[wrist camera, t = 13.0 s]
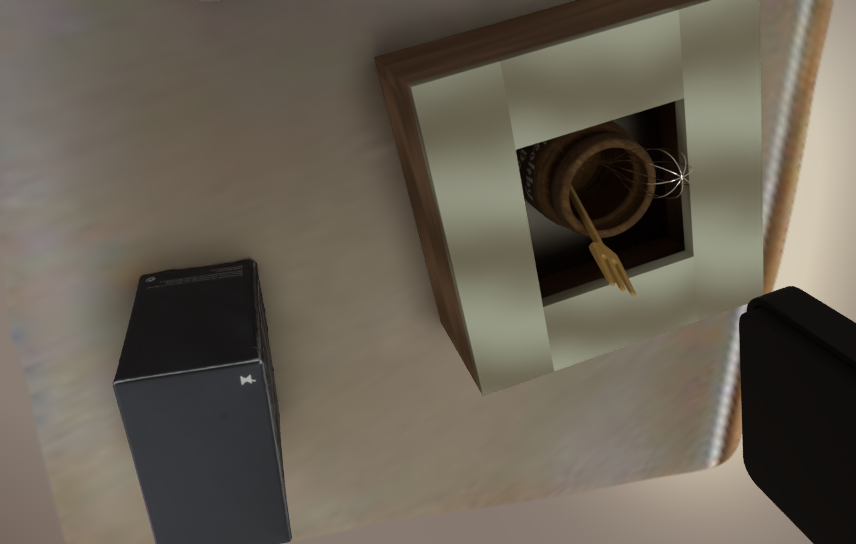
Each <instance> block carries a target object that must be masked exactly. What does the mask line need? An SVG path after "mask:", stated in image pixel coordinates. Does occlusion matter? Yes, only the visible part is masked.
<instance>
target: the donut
mask: <svg viewBox="0 0 856 544" xmlns="http://www.w3.org/2000/svg"><path fill="white" fill-rule="evenodd" d="M198 1H201V2H219V1H223V0H198Z"/></svg>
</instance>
